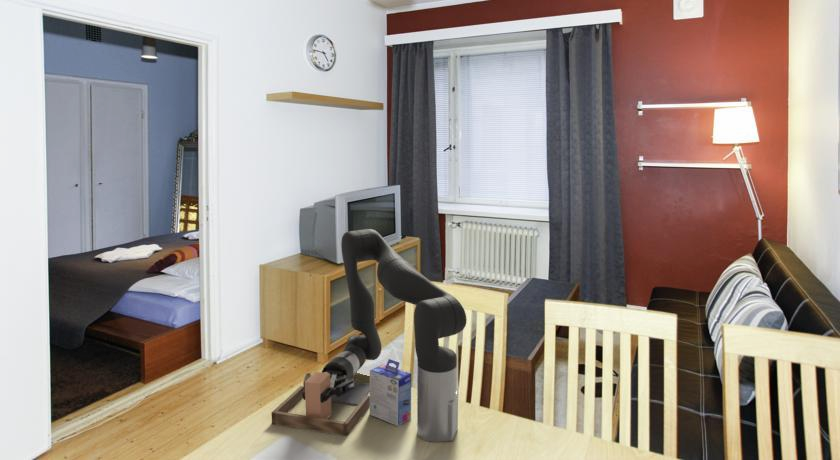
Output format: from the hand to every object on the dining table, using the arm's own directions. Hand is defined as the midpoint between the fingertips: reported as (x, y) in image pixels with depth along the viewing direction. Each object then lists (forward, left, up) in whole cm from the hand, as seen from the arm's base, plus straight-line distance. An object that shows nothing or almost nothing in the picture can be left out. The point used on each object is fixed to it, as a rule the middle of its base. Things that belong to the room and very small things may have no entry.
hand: (313, 397), depth 136 cm
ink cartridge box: (-17, -9, -7) cm, 20 cm away
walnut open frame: (0, -5, -7) cm, 8 cm away
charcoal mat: (0, -18, -7) cm, 19 cm away
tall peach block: (0, -3, -7) cm, 8 cm away
